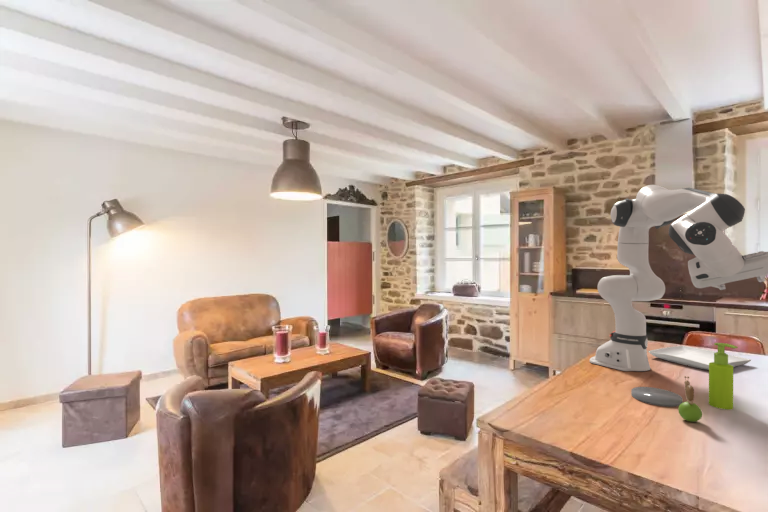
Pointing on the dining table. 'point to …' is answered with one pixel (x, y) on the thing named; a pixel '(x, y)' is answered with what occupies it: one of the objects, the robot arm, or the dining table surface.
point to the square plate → (693, 356)
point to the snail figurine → (689, 405)
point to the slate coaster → (656, 396)
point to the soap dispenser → (721, 379)
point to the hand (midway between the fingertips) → (741, 283)
